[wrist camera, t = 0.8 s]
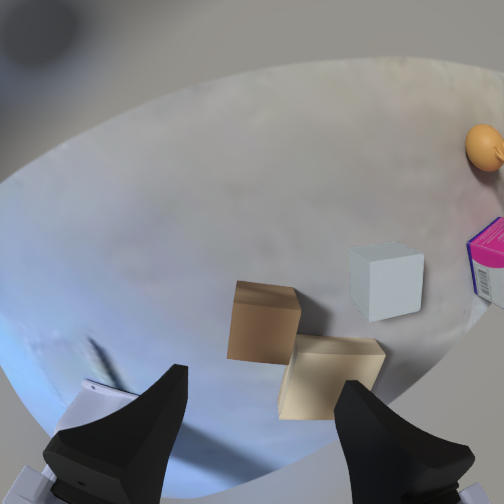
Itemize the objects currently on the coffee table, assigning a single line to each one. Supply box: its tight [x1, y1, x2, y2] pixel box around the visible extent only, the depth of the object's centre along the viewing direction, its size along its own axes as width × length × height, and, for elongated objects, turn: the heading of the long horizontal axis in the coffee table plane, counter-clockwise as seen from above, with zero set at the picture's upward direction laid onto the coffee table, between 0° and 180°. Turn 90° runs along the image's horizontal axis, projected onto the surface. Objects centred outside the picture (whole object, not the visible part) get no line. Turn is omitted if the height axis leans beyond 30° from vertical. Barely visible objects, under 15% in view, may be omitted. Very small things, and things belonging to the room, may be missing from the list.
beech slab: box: [277, 334, 386, 420], centre depth 20 cm, size 7×7×3 cm
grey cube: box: [349, 241, 424, 322], centre depth 18 cm, size 4×4×4 cm
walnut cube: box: [227, 280, 302, 365], centre depth 18 cm, size 4×4×4 cm
